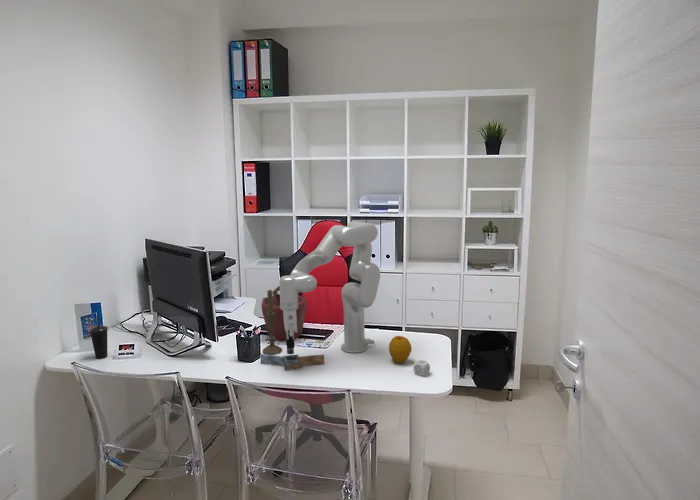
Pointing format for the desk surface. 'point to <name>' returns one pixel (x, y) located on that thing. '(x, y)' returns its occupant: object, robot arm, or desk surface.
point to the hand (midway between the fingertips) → (290, 345)
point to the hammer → (292, 360)
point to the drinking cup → (99, 340)
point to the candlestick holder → (271, 329)
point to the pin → (289, 350)
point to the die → (421, 368)
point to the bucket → (278, 316)
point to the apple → (399, 349)
